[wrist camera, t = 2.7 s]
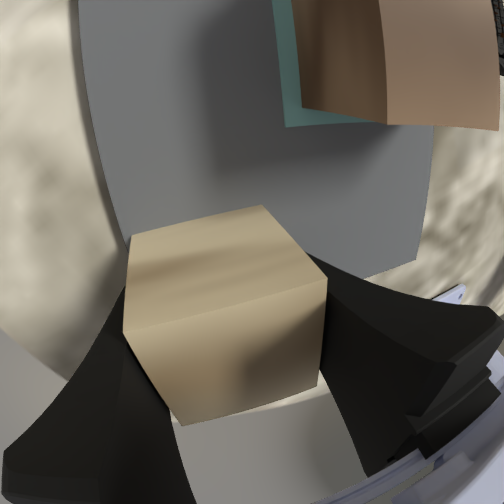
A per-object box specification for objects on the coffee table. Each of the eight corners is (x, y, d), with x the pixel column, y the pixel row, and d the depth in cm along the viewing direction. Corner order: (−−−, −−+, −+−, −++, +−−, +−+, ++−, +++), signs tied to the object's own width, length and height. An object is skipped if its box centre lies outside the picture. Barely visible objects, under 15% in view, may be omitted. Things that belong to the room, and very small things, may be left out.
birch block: (270, 303, 12) (316, 386, 9) (166, 330, 11) (182, 426, 8) (261, 204, 10) (327, 278, 6) (131, 235, 9) (122, 332, 5)
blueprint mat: (409, 254, 14) (416, 260, 14) (161, 329, 12) (162, 339, 11) (411, -31, 6) (420, -33, 6) (82, -48, 4) (78, -55, 3)
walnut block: (417, 108, 10) (498, 131, 6) (302, 107, 8) (387, 124, 5) (407, -10, 7) (486, -17, 3) (285, -39, 6) (356, -88, 2)
